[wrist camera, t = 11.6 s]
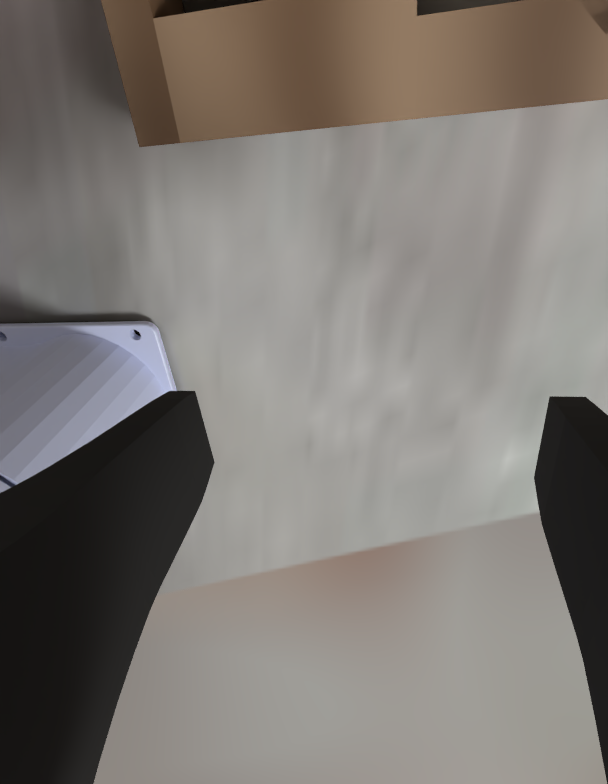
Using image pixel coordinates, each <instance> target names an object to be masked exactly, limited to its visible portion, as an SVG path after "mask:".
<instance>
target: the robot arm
mask: <svg viewBox="0 0 608 784" xmlns="http://www.w3.org/2000/svg"><path fill="white" fill-rule="evenodd" d="M134 330H137V331H138V332H139V333H140V334H141V336H138V335H137V334H135V332H134ZM3 333H4V334H5V335H6V336H5V335H4V334H3ZM213 465H214V459H213V455H212V452H211V448H210V444H209V441H208V437H207V433H206V430H205V426H204V422H203V419H202V415H201V411H200V408H199V404H198V400H197V397H196V393H195V391H177V389H176V386H175V383H174V379H173V376H172V373H171V369H170V366H169V362H168V359H167V356H166V352H165V349H164V345H163V342H162V339H161V335H160V332H159V330H158V328H157V326H156V325H155V324H153V323H151V322H148V321H122V322H67V323H13V324H0V784H93V783H94V779H95V775H96V772H97V768H98V764H99V761H100V757H101V754H102V751H103V748H104V744H105V741H106V738H107V735H108V731H109V728H110V725H111V721H112V718H113V715H114V712H115V708H116V705H117V702H118V699H119V696H120V693H121V690H122V687H123V684H124V681H125V678H126V675H127V672H128V669H129V666H130V664H131V661H132V658H133V655H134V652H135V649H136V647H137V644H138V641H139V638H140V636H141V633H142V630H143V627H144V625H145V622H146V619H147V617H148V614H149V611H150V609H151V607H152V604H153V602H154V600H155V597H156V595H157V593H158V591H159V588H160V586H161V584H162V582H163V580H164V578H165V576H166V574H167V572H168V570H169V568H170V566H171V564H172V562H173V560H174V558H175V556H176V554H177V552H178V550H179V548H180V546H181V544H182V542H183V540H184V538H185V536H186V533H187V531H188V529H189V527H190V525H191V523H192V521H193V519H194V517H195V515H196V513H197V511H198V508H199V506H200V504H201V502H202V499H203V496H204V493H205V490H206V487H207V484H208V481H209V478H210V475H211V471H212V468H213ZM534 479H535V486H536V492H537V499H538V505H539V510H540V516H541V521H542V526H543V529H544V533H545V536H546V539H547V542H548V545H549V549H550V552H551V555H552V559H553V562H554V565H555V568H556V571H557V575H558V578H559V581H560V584H561V587H562V591H563V594H564V597H565V600H566V603H567V607H568V610H569V613H570V616H571V619H572V622H573V626H574V629H575V632H576V635H577V639H578V643H579V646H580V650H581V654H582V658H583V662H584V666H585V671H586V676H587V681H588V686H589V691H590V696H591V701H592V705H593V710H594V715H595V720H596V725H597V731H598V736H599V742H600V747H601V752H602V757H603V763H604V768H605V774H606V779H607V784H608V415H607V414H605V413H604V412H603V411H602V410H601V409H600V408H598V407H597V406H596V405H595V404H594V403H592V402H591V401H590V400H589V399H587V398H586V397H550V398H549V403H548V408H547V413H546V419H545V424H544V429H543V434H542V439H541V445H540V450H539V455H538V460H537V465H536V471H535V476H534Z"/></svg>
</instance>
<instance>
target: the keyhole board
mask: <svg viewBox="0 0 608 784" xmlns="http://www.w3.org/2000/svg"><path fill="white" fill-rule="evenodd" d="M101 2H102V6H103V10H104V14H105V17H106V21H107V25H108V29H109V33H110V36H111V40H112V44H113V48H114V52H115V56H116V59H117V63H118V67H119V71H120V75H121V79H122V82H123V86H124V90H125V94H126V98H127V102H128V105H129V109H130V113H131V117H132V121H133V124H134V128H135V132H136V136H137V140H138V144H139V147H145V146H155V145H164V144H174V143H184V142H194V141H203V140H213V139H223V138H233V137H242V136H252V135H262V134H272V133H281V132H291V131H301V130H311V129H320V128H330V127H340V126H350V125H359V124H369V123H379V122H389V121H398V120H408V119H418V118H428V117H437V116H447V115H457V114H467V113H476V112H486V111H496V110H506V109H515V108H525V107H535V106H545V105H554V104H564V103H574V102H584V101H593V100H603V99H608V0H523V1H516V2H509V3H502V4H495V5H489V6H482V7H475V8H468V9H461V10H454V11H448V12H441V13H434V14H427V15H420V16H417V0H263V1H257V2H251V3H245V4H239V5H233V6H227V7H220V8H214V9H208V10H202V11H196V12H190V13H184V9H183V4H182V0H101Z"/></svg>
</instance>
